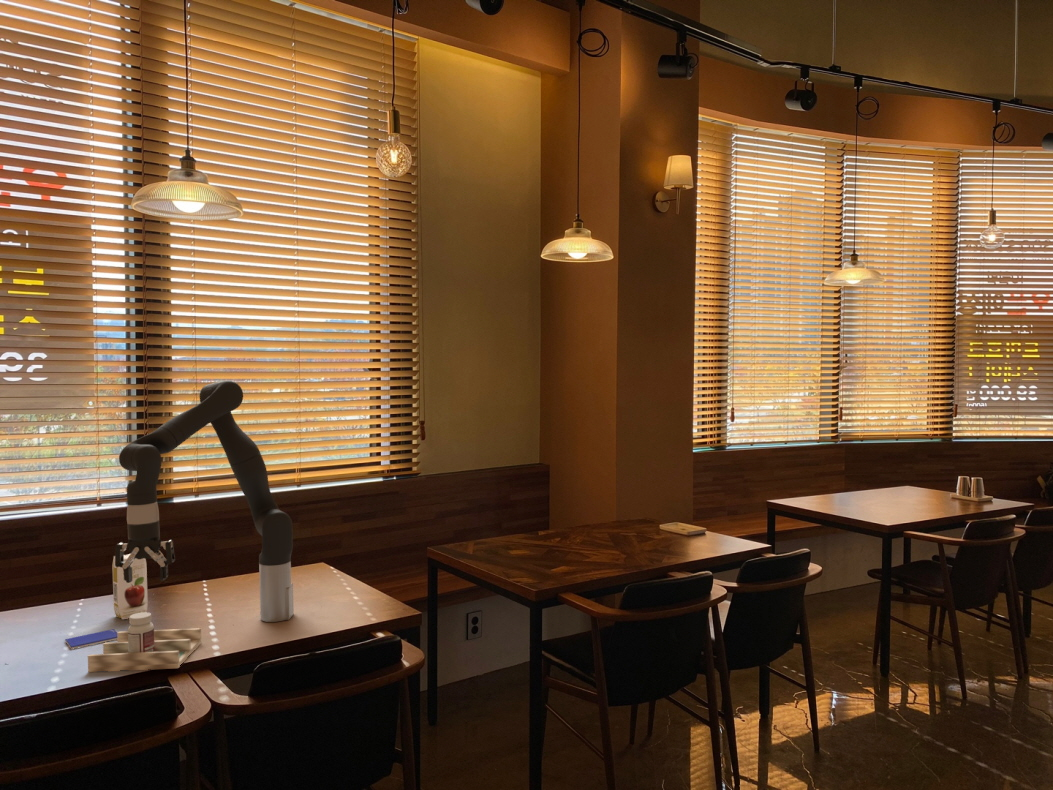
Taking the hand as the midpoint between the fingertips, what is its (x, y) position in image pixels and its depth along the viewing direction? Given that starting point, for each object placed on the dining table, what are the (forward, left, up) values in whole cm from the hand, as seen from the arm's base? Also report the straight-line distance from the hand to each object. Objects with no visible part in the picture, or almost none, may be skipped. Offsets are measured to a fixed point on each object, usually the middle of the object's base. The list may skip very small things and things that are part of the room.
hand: (146, 581), depth 203 cm
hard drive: (+22, -17, -22) cm, 35 cm away
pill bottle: (+1, +3, -20) cm, 20 cm away
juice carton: (+20, -39, -21) cm, 48 cm away
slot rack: (+1, -2, -21) cm, 21 cm away
